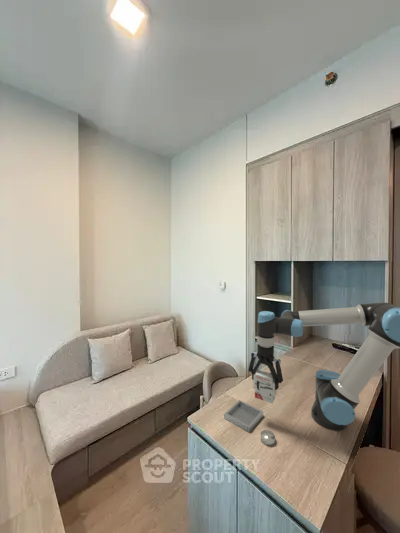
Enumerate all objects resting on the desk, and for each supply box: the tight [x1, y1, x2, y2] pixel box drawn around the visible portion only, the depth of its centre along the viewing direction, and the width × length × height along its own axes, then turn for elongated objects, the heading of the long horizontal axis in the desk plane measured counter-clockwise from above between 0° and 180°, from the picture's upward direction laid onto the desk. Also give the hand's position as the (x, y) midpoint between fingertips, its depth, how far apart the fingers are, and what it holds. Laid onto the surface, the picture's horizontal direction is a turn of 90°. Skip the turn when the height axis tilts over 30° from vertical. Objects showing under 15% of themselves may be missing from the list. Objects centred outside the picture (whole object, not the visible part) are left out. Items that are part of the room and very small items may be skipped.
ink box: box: [254, 369, 276, 404], centre depth 107 cm, size 8×5×12 cm, turn 58°
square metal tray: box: [223, 399, 264, 434], centre depth 111 cm, size 14×14×2 cm
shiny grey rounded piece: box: [260, 429, 276, 447], centre depth 97 cm, size 6×6×2 cm
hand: (264, 390), depth 107 cm, fingers closed on ink box, 9 cm apart
